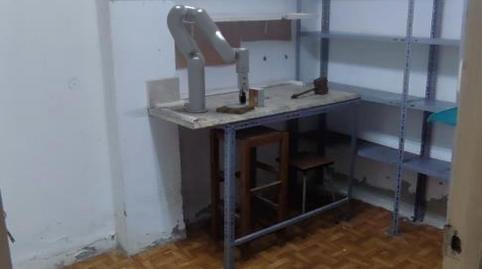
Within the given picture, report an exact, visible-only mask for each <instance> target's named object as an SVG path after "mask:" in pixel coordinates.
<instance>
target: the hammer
mask: <svg viewBox="0 0 482 269" xmlns="http://www.w3.org/2000/svg"><path fill="white" fill-rule="evenodd" d="M328 81H329V80H328V79H327V76H319V77H318V78H315V79H313V82H312V84H313V88H311V89H307V90H304V91H302V92H299V93H293V94H292V95H290V99H294V98H295V99H297V98H298V97H300V96H303V95H306V94H308V93H311V92H313V93H314V95H318V94H320V96H322V94H323V95H325V94H326V93H329V91H330V90H329V89H330V88H329V87H328Z"/></svg>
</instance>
